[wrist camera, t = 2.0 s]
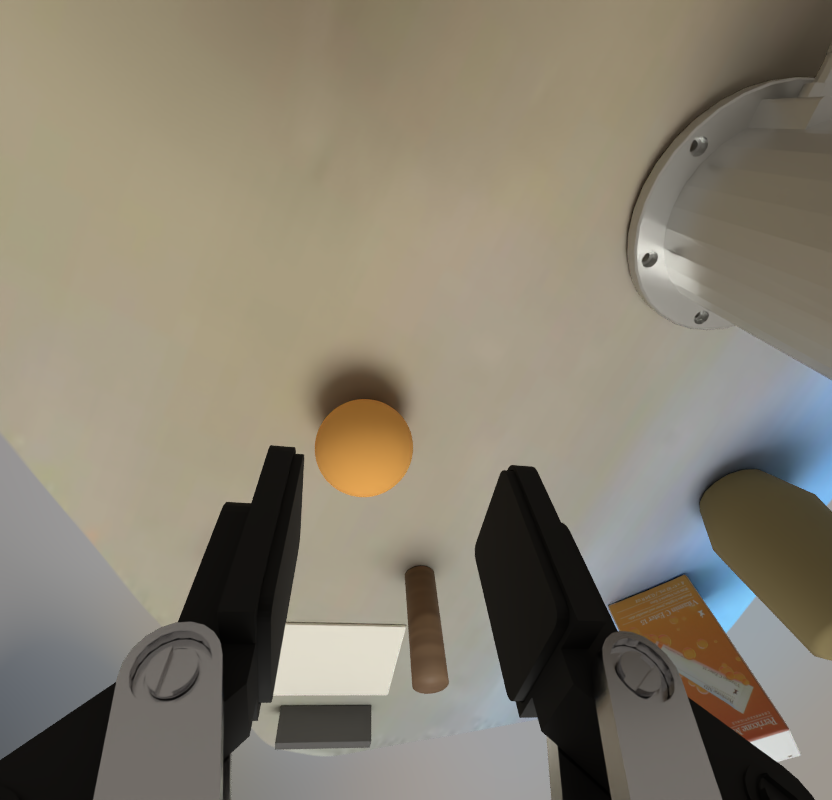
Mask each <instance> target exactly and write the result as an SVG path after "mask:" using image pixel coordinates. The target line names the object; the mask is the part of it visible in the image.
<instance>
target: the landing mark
mask: <svg viewBox="0 0 832 800" xmlns="http://www.w3.org/2000/svg"><path fill="white" fill-rule="evenodd" d="M405 628H406V625H375V624H330V623H286V624H285V630H284V636H283V641H282V647H281V653H280V659H279V665H278V670H277V676H276V682H275V688H274V693H273V695H388V692H389V688H390V684H391V681H392V677H393V673H394V669H395V666H396V662H397V658H398V655H399V651H400V647H401V643H402V640H403V636H404V632H405Z"/></svg>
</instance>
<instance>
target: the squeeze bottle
mask: <svg viewBox="0 0 832 800" xmlns="http://www.w3.org/2000/svg"><path fill="white" fill-rule="evenodd" d="M700 513H701V516H702V519H703V522H704V525H705V527H706V530H707V533H708V536H709V539H710V542H711V545H712V548H713V550H714V551H715V553H716V554H717V555H718V556H719V557H720V558H721V559H722V560H723V561H724V562H725V563H726V564H727V565H728V567H729V568H730V569H731V570H732V571H733V572H734V573H735V574H736V575H737V576H738V577H739V578H740V579H741V580H742V581H743V582H744V583H745V584H746V585H747V586H748V587H749V588H750V589H751V591H752V592H753V593H754V594H755V595H756V596H757V597H758V598H759V599H760V600H761V601H762V602H763V603H764V604H765V605H766V606H767V607H768V608H769V609H770V610H771V611H772V612H773V614H775V616H777V618H778V619H779V620H780V621H781V622H782V623H783V624H784V625H785V626H786V627H787V628H788V629H789V630H790V631H791V632H792V633H793V634H794V635H795V636H796V638H797V639H798V640H799V641H800V642H801V643H802V644H803V645H804V646H805V647H806V648H807V649H808V650H809V651H810V652H811V653H812V654H813V655H814V656H816V657H820V658H824V659H827V660H832V512H831V510H830V509H829V508H828V507H827V506H826V505H825V504H824V503H823V502H822V501H821V500H820V499H819V498H818V497H817V496H816V495H815V494H813V493H810V492H808V491H806V490H804V489H802V488H799V487H797V486H795V485H793V484H790V483H788V482H786V481H784V480H781V479H779V478H777V477H775V476H772V475H770V474H768V473H766V472H763V471H760V470H758V469H747V470H740V471H737V472H734V473H731V474H728V475H726V476H725V477H723V478H721V479H720V480H718V481H716V482H715V483H714V484H713V485H712V486H711V487H710V488H709V489H708V490H707V491H706V492H705V493H704V495H703V497H702V499H701V501H700Z"/></svg>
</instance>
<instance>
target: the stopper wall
mask: <svg viewBox="0 0 832 800" xmlns="http://www.w3.org/2000/svg"><path fill="white" fill-rule="evenodd" d="M370 744H371V705H346V706H281V710H280V716H279V723H278V729H277V735H276V742H275V749H321V748H368V747H370Z"/></svg>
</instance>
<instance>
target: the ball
mask: <svg viewBox="0 0 832 800" xmlns="http://www.w3.org/2000/svg"><path fill="white" fill-rule="evenodd" d="M412 453H413V441H412V436H411V432H410V430H409V427H408V425H407V423H406V422H405V420H404V419H403V418H402V416H401V415H400V414H399V413H398V412H397V411H396V410H395V409H393V408H392V407H390V406H389V405H387V404H385V403H382V402H380V401H376V400H371V399H358V400H352V401H349V402H346V403H344V404H342V405H340V406H339V407H337V408H335V409H334V410H333V411H332V412H331V413H330V414H329V415H328V416H327V417H326V418H325V419H324V421H323V422H322V424H321V426H320V428H319V430H318V433H317V436H316V441H315V456H316V461H317V464H318V467H319V469H320V471H321V473H322V475H323V476H324V478H325V479H326V480H327V481H328V482H329V483H330V484H331V485H332V486H333V487H334V488H336V489H337V490H339V491H341V492H343V493H345V494H348V495H351V496H356V497H370V496H375V495H379V494H381V493H384V492H386V491H388V490H389V489H391V488H392V487H394V486H395V485H396V484H397V483H398V482H399V481H400V480H401V479H402V478H403V476H404V475H405V473H406V472H407V470H408V468H409V465H410V463H411V459H412Z"/></svg>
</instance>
